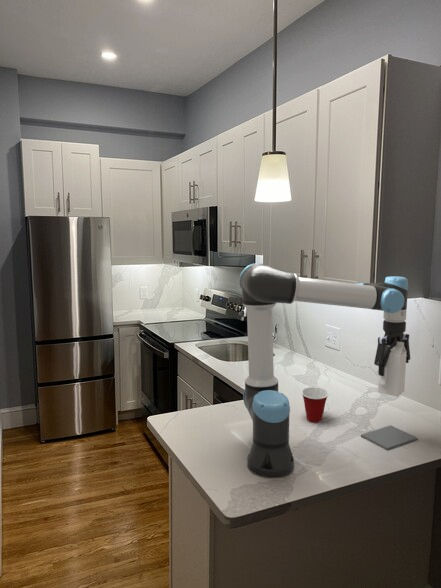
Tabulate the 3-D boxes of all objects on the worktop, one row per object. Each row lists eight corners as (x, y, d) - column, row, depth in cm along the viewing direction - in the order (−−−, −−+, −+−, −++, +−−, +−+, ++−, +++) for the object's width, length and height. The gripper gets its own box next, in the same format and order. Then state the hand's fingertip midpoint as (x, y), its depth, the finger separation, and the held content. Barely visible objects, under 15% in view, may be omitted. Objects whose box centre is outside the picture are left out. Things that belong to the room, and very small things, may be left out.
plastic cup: (299, 424, 176) (300, 395, 175) (301, 413, 187) (301, 385, 185) (328, 426, 174) (329, 397, 172) (327, 415, 184) (328, 387, 183)
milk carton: (384, 387, 167) (387, 337, 164) (404, 391, 162) (407, 340, 159) (377, 392, 161) (380, 341, 158) (397, 397, 157) (400, 344, 154)
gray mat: (387, 450, 155) (387, 448, 155) (360, 436, 165) (360, 434, 165) (417, 439, 163) (417, 437, 163) (390, 427, 173) (390, 425, 173)
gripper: (382, 325, 149) (379, 390, 153) (423, 319, 160) (420, 379, 163) (364, 321, 156) (362, 383, 159) (405, 315, 166) (402, 374, 170)
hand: (391, 381), depth 161 cm, fingers closed on milk carton, 9 cm apart
